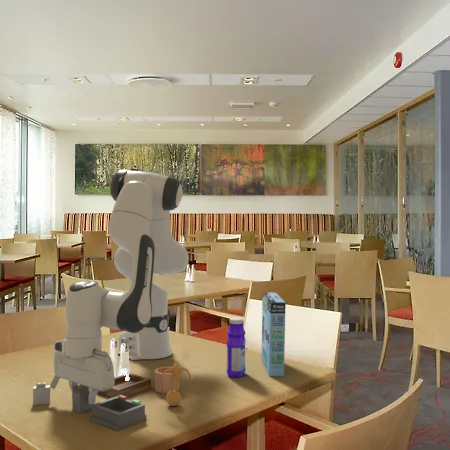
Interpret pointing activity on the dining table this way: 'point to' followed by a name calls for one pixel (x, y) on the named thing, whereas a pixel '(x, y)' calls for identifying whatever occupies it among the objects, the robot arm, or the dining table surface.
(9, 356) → the dining table surface
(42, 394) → the lighter
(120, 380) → the brown wooden tray
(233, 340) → the bottle
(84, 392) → the battery
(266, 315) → the gum box
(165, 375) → the pink octagonal pot
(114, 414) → the tray
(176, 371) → the figurine
